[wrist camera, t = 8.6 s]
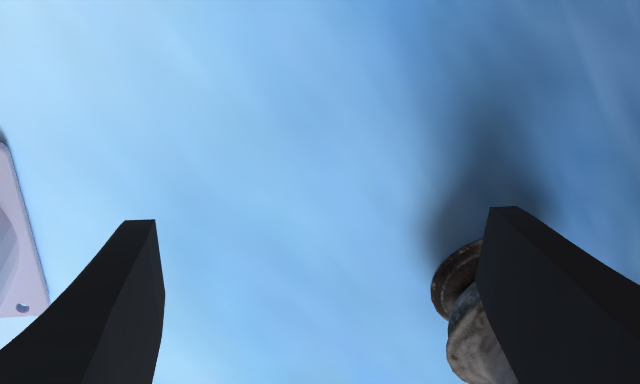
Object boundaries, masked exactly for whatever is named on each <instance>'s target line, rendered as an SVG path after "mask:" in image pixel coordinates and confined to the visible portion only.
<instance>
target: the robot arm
mask: <svg viewBox="0 0 640 384" xmlns="http://www.w3.org/2000/svg"><path fill="white" fill-rule="evenodd" d="M475 282H476V286H477V289H478V292H479V295H480V299H481V302H482V305H483V308H484V311H485V313H486V316H487V319H488V321H489V323H490V325H491V328H492V330H493V332H494V334H495V336H496V338H497V340H498V342H499V344H500V346H501V348H502V350H503V352H504V354H505V356H506V358H507V360H508V362H509V364H510V366H511V368H512V370H513V372H514V374H515V376H516V378H517V380H518V382H519V384H640V285H638V284H636V283H635V282H633V281H631V280H630V279H628V278H626V277H625V276H623V275H621V274H620V273H618V272H616V271H615V270H613V269H611V268H610V267H608V266H607V265H605V264H603V263H602V262H600V261H599V260H597V259H596V258H594V257H593V256H591V255H590V254H588V253H586V252H585V251H584V250H582V249H581V248H579V247H578V246H576V245H575V244H573V243H572V242H570V241H569V240H567V239H566V238H564V237H563V236H561V235H560V234H559V233H557V232H556V231H554V230H553V229H551V228H550V227H548V226H547V225H545V224H544V223H542V222H541V221H540V220H538V219H537V218H535V217H534V216H532V215H531V214H529V213H527V212H526V211H524V210H522V209H521V208H519V207H517V206H508V207H490V210H489V214H488V219H487V224H486V228H485V233H484V238H483V242H482V247H481V252H480V256H479V261H478V265H477V270H476V275H475ZM20 303H23V304H26V305H28V306H22V305H21V304H20ZM164 305H165V289H164V281H163V274H162V267H161V259H160V252H159V245H158V237H157V230H156V223H155V219H152V220H125V221H124V222H123V223H122V224H121V225H120V226H119V227H118V228H117V230H116V231H115V232H114V233H113V235H112V236H111V237H110V238H109V240H108V241H107V242H106V243H105V245H104V246H103V247H102V248H101V250H100V251H99V252H98V253H97V254H96V256H95V257H94V258H93V259H92V260H91V262H90V263H89V264H88V265H87V266H86V267H85V268H84V270H83V271H82V272H81V273H80V274H79V275H78V276H77V278H76V279H75V280H74V281H73V282H72V283H71V284H70V285H69V286H68V288H67V289H66V290H65V291H64V292H63V293H62V294H61V295H60V296H59V297H58V298H57V299H56V300H55V301H54V302H53V303H52V304H51V305H50V298H49V295H48V291H47V287H46V283H45V280H44V276H43V272H42V269H41V265H40V261H39V258H38V254H37V250H36V247H35V243H34V239H33V236H32V232H31V228H30V224H29V221H28V217H27V213H26V210H25V206H24V202H23V199H22V195H21V191H20V188H19V184H18V180H17V176H16V173H15V169H14V165H13V162H12V158H11V154H10V151H9V149H8V147H7V146H5V145H4V144H3V143H1V142H0V318H4V317H23V316H39V315H40V316H39V317H38V318H37V319H36V320H35V321H33V322H32V323H31V324H30V325H29V326H28V327H27V328H26V329H25V330H24V331H22V332H21V333H20V334H19V335H18V336H16V337H15V338H14V339H13V340H12V341H11V342H9V343H8V344H7V345H6V346H4V347H3V348H2V349H1V350H0V384H152V381H153V376H154V371H155V367H156V362H157V357H158V353H159V348H160V343H161V338H162V329H163V318H164Z"/></svg>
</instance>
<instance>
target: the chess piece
mask: <svg viewBox="0 0 640 384" xmlns="http://www.w3.org/2000/svg"><path fill="white" fill-rule="evenodd" d="M482 242H483V239H482V240H478V241H476V242H473V243H471V244H468V245H466V246H464V247H462V248H461V249H459V250H458V251H456V252H455V253H453V254H452V255H451V256H450V257H449V258H448V259H447V260H446V261H445V262H444V263H443V264H442V265H441V266H440V268H439V269H438V271H437V273H436V274H435V276H434V279H433V282H432V286H431V299H432V302H433V304H434V306H435V309H436V311H437V312H438V313H439V314H440V315H441V316H442V317H443V318H444V319H445V320H447V321H449V324H448V341H447V344H446V353H447V360H448V363H449V365H450V367H451V369H452V371H453V372H454V373H455V374H456V375H457V376H458V377H459V378H460V379H461V380H463V381H465V382H467V383H469V384H519V382H518V380H517V378H516V376H515V374H514V372H513V370H512V368H511V366H510V364H509V362H508V360H507V358H506V356H505V354H504V352H503V350H502V348H501V346H500V344H499V342H498V340H497V338H496V336H495V334H494V332H493V330H492V328H491V325H490V323H489V321H488V319H487V316H486V313H485V311H484V308H483V305H482V302H481V299H480V295H479V292H478V289H477V286H476V282H475V275H476V270H477V265H478V261H479V256H480V252H481V247H482Z"/></svg>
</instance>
